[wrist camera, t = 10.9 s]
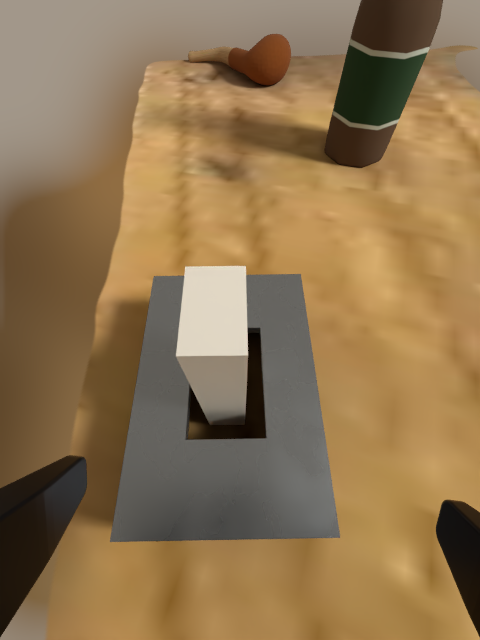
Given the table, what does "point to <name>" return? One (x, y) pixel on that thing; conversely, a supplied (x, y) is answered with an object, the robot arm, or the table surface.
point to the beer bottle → (379, 76)
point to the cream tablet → (215, 340)
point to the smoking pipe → (253, 59)
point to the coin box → (227, 454)
